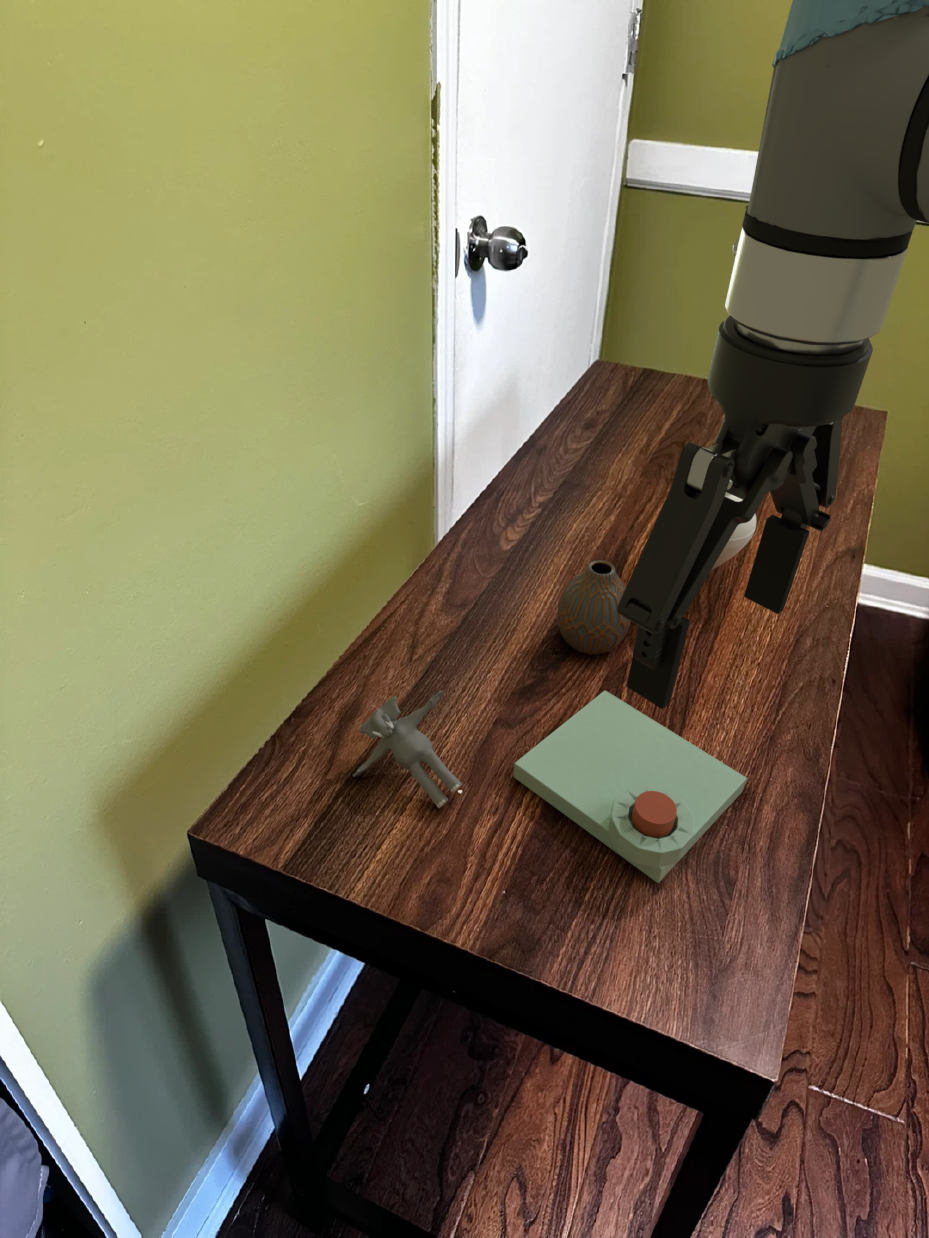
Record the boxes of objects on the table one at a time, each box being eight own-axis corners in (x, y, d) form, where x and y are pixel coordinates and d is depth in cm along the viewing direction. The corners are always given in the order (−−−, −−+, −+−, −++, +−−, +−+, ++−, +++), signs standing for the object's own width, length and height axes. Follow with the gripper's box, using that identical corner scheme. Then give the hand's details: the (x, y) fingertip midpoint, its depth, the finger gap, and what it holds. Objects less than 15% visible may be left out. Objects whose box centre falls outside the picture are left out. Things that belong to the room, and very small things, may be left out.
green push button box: (747, 794, 68) (758, 765, 66) (655, 895, 61) (664, 866, 59) (602, 703, 76) (607, 674, 74) (505, 783, 69) (507, 753, 66)
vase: (543, 651, 81) (552, 577, 76) (568, 611, 86) (577, 538, 81) (613, 674, 79) (627, 599, 74) (634, 631, 84) (649, 558, 78)
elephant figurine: (392, 845, 64) (319, 754, 66) (418, 836, 70) (350, 753, 72) (488, 754, 63) (410, 665, 65) (506, 753, 68) (434, 671, 71)
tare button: (681, 820, 62) (685, 807, 61) (657, 844, 61) (661, 831, 60) (646, 797, 64) (650, 783, 63) (623, 820, 62) (626, 806, 61)
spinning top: (682, 549, 95) (704, 452, 88) (748, 573, 92) (777, 474, 85) (654, 582, 90) (675, 483, 83) (724, 609, 87) (752, 508, 80)
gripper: (844, 260, 52) (758, 550, 65) (580, 367, 38) (540, 707, 51) (970, 292, 48) (851, 594, 61) (726, 425, 34) (641, 778, 47)
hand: (709, 646), depth 56 cm, fingers open, 13 cm apart
